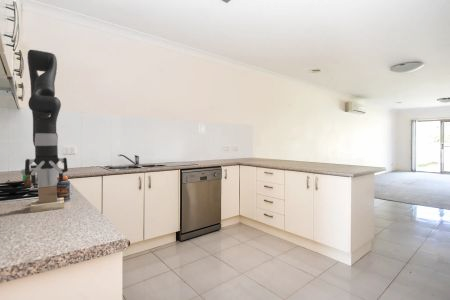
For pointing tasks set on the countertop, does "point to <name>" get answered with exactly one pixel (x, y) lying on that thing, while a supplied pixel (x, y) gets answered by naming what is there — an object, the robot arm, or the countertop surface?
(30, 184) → the food container
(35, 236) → the countertop surface
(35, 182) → the robot arm
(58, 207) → the tan flat square piece
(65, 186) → the pill bottle
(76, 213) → the countertop surface
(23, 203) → the countertop surface
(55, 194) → the walnut cube
